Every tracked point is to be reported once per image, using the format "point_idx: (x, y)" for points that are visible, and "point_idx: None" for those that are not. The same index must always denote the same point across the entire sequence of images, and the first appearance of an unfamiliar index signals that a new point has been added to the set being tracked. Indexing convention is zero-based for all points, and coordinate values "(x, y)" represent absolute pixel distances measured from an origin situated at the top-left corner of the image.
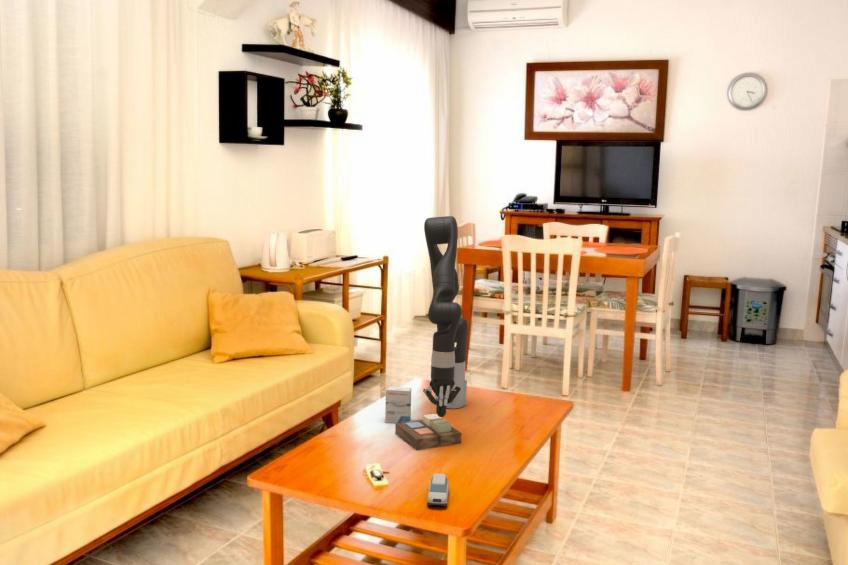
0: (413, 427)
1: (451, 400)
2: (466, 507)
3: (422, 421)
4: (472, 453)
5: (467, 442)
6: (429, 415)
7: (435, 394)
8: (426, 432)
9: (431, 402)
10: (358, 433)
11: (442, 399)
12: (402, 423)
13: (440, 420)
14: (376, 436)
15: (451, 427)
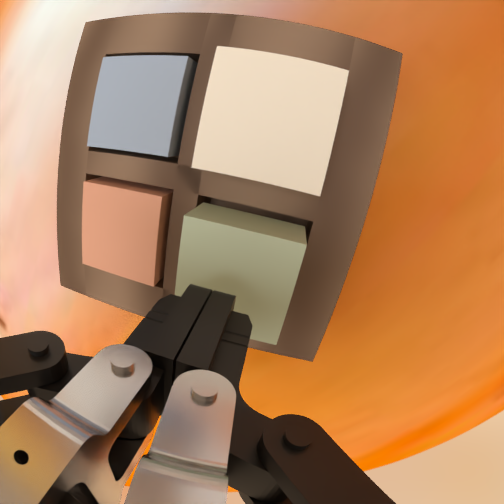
0: (97, 146)
1: (277, 499)
2: None
3: (242, 44)
4: (265, 407)
5: (344, 333)
6: (262, 77)
7: (15, 438)
8: (118, 264)
9: (37, 334)
10: (33, 6)
11: (182, 439)
12: (111, 31)
13: (258, 242)
14: (49, 47)
15: (336, 266)
